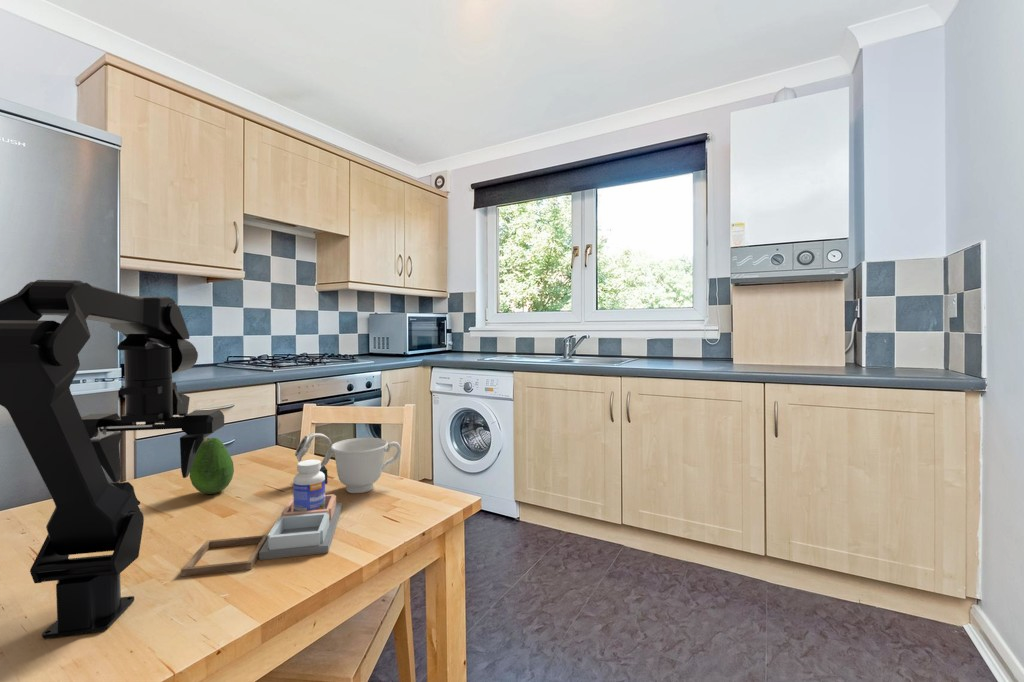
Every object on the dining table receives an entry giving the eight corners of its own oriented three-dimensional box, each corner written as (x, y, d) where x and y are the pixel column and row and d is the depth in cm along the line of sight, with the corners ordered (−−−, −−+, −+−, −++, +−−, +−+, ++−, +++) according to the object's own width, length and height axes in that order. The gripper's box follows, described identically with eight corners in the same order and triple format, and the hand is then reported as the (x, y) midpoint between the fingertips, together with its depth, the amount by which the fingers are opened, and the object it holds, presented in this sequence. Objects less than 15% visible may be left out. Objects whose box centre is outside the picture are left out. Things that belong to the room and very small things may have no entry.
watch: (294, 481, 108) (293, 434, 107) (330, 475, 112) (330, 429, 111) (297, 488, 103) (296, 439, 102) (335, 482, 107) (335, 434, 107)
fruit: (196, 489, 102) (194, 435, 102) (237, 485, 105) (236, 432, 104) (185, 502, 95) (183, 444, 94) (229, 497, 98) (228, 440, 97)
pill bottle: (313, 521, 83) (313, 467, 83) (287, 519, 84) (286, 465, 84) (331, 510, 88) (331, 459, 88) (306, 507, 89) (305, 457, 89)
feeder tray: (251, 568, 69) (251, 562, 69) (181, 576, 67) (180, 569, 67) (268, 540, 78) (268, 534, 78) (206, 546, 76) (206, 540, 76)
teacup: (405, 492, 101) (404, 447, 100) (331, 502, 95) (330, 453, 95) (397, 475, 112) (397, 434, 111) (330, 483, 106) (330, 440, 106)
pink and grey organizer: (328, 552, 74) (327, 533, 74) (259, 559, 72) (259, 539, 72) (341, 508, 92) (341, 492, 92) (286, 513, 89) (286, 497, 89)
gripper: (235, 371, 81) (236, 460, 82) (109, 374, 77) (112, 467, 77) (209, 379, 70) (211, 481, 71) (61, 382, 66) (65, 491, 66)
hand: (151, 479), depth 72 cm, fingers open, 9 cm apart
